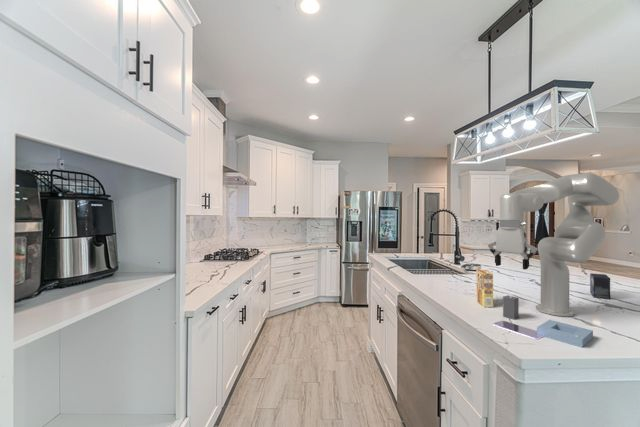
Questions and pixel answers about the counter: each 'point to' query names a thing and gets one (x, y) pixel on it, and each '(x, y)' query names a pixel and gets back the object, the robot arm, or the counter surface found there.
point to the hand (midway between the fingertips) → (511, 267)
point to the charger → (511, 307)
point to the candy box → (485, 288)
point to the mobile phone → (518, 329)
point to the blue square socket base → (565, 333)
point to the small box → (600, 286)
